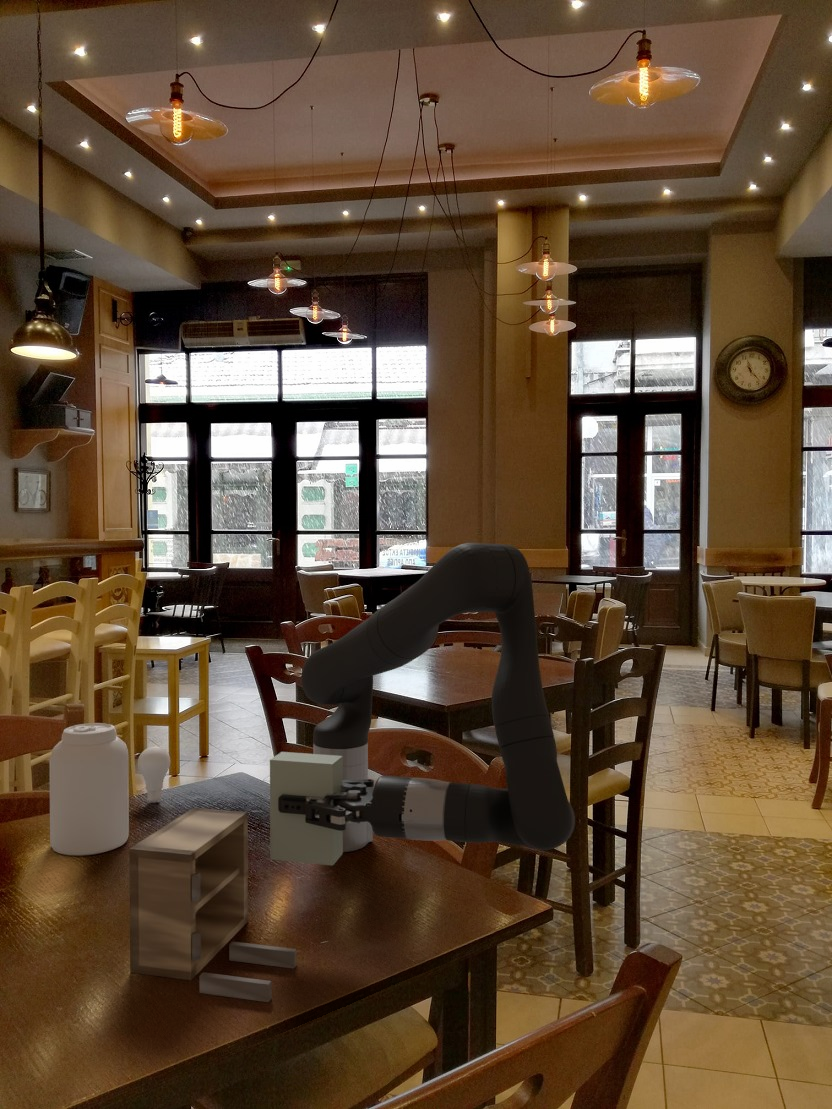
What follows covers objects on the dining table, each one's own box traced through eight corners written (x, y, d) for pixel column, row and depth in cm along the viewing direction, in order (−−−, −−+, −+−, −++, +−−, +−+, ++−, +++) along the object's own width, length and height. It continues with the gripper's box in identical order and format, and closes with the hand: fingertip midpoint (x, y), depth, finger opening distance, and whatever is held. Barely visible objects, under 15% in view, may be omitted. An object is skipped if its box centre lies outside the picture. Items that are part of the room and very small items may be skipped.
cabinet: (194, 915, 120) (193, 807, 120) (323, 930, 116) (322, 818, 116) (119, 981, 103) (118, 855, 102) (268, 1002, 98) (268, 870, 98)
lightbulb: (177, 800, 172) (176, 744, 172) (155, 809, 166) (155, 752, 166) (153, 796, 174) (152, 741, 174) (131, 805, 169) (130, 748, 169)
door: (284, 845, 118) (284, 749, 117) (345, 851, 116) (345, 753, 115) (270, 859, 113) (269, 759, 112) (332, 865, 111) (332, 764, 110)
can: (50, 862, 140) (49, 738, 139) (49, 837, 151) (48, 722, 151) (132, 850, 145) (131, 731, 144) (125, 827, 156) (124, 716, 156)
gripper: (426, 763, 117) (305, 755, 121) (399, 796, 103) (263, 785, 107) (425, 818, 117) (305, 808, 121) (399, 858, 103) (264, 845, 107)
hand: (286, 797), depth 114 cm, fingers closed on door, 4 cm apart
